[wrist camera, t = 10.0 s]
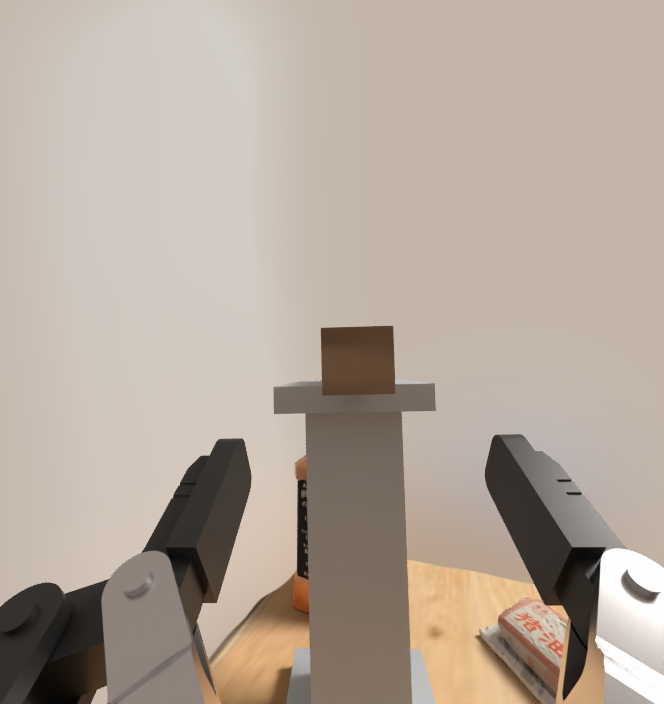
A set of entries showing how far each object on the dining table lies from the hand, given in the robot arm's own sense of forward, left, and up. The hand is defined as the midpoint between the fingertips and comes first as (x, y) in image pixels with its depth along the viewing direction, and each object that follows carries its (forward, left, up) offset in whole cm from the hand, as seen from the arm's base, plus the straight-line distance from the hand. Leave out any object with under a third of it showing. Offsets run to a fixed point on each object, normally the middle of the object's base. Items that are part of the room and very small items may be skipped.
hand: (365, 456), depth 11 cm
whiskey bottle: (-23, -32, -30) cm, 50 cm away
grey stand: (-13, -16, -30) cm, 37 cm away
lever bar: (-9, -11, +2) cm, 15 cm away
